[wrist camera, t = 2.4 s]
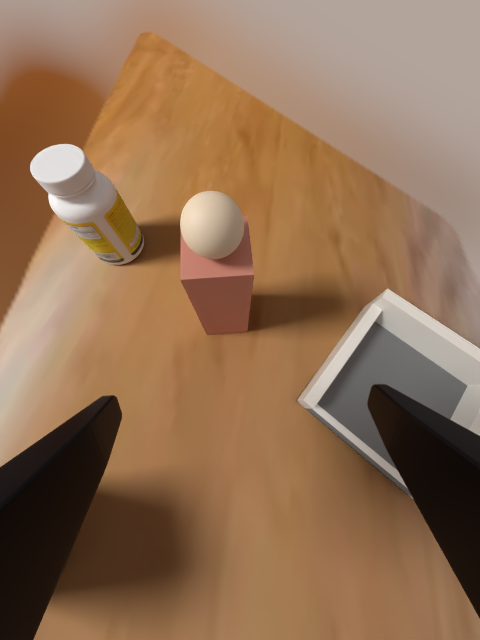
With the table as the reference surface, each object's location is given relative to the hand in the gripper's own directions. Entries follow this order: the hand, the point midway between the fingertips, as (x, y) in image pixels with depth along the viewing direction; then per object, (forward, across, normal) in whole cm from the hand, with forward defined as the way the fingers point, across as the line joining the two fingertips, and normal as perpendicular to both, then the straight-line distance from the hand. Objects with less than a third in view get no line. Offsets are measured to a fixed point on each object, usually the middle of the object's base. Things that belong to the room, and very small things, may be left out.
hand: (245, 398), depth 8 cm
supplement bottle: (+22, +13, -2) cm, 25 cm away
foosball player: (+16, +1, +4) cm, 16 cm away
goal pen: (+10, -13, +9) cm, 19 cm away
